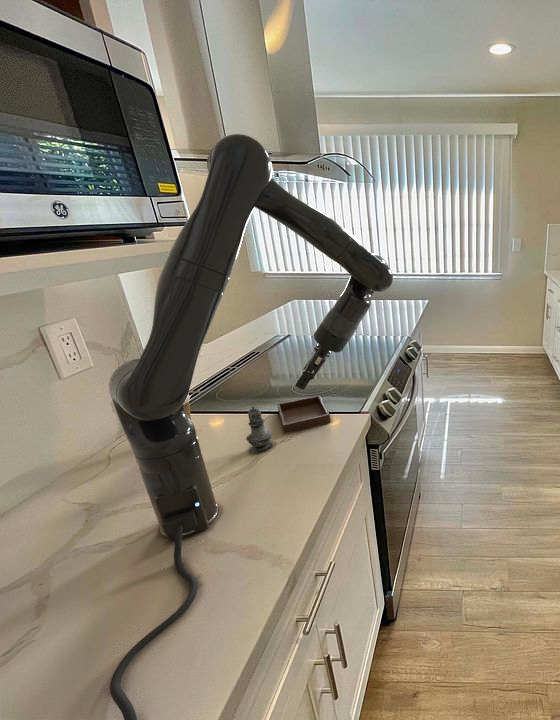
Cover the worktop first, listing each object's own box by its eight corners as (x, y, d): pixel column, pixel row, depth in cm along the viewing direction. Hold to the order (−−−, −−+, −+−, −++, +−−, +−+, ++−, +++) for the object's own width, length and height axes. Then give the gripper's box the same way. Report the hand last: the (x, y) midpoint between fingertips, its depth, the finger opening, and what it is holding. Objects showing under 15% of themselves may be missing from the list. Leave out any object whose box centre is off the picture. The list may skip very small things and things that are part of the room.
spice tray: (330, 422, 115) (329, 414, 114) (284, 433, 109) (283, 425, 108) (320, 402, 127) (319, 395, 126) (278, 411, 121) (277, 404, 120)
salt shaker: (255, 456, 98) (245, 413, 94) (244, 448, 102) (235, 406, 98) (278, 446, 103) (270, 404, 99) (267, 438, 106) (259, 398, 102)
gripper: (327, 311, 100) (294, 360, 103) (317, 329, 87) (281, 385, 90) (354, 327, 103) (321, 374, 106) (348, 347, 90) (311, 400, 93)
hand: (303, 379), depth 98 cm, fingers open, 8 cm apart
